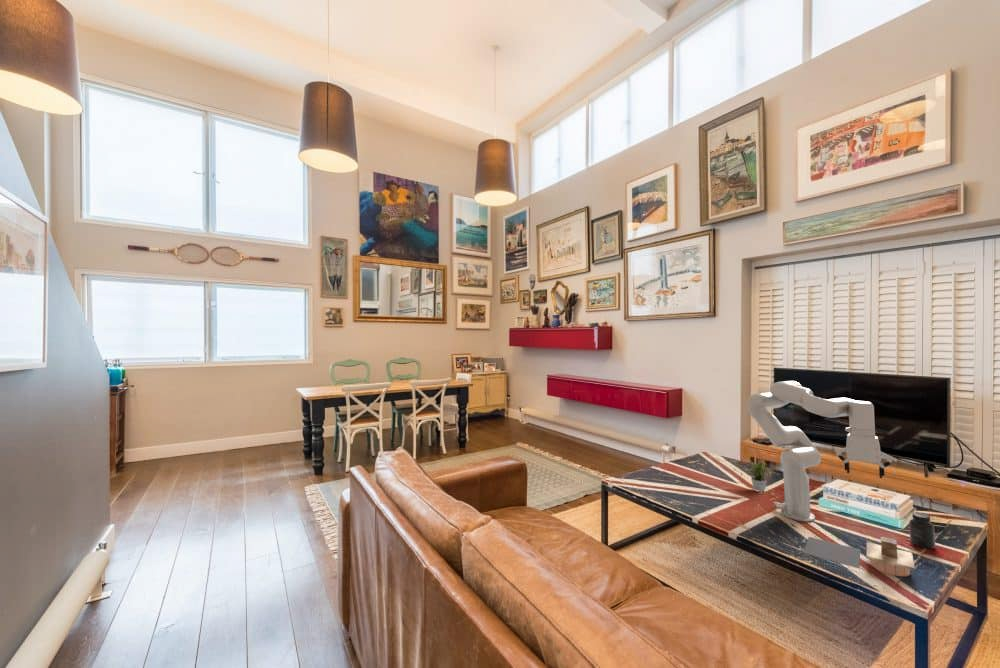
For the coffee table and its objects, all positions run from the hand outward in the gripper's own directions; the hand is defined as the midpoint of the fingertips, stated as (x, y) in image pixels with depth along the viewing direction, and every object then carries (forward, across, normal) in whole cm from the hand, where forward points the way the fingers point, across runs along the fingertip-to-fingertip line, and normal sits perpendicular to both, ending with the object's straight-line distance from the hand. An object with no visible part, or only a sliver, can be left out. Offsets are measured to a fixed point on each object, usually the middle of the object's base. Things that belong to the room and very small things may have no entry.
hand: (864, 474), depth 159 cm
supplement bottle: (+28, +16, +13) cm, 35 cm away
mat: (+28, -10, -16) cm, 34 cm away
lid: (+23, +6, -17) cm, 29 cm away
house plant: (+28, -44, +39) cm, 65 cm away
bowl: (+28, +6, -17) cm, 34 cm away
